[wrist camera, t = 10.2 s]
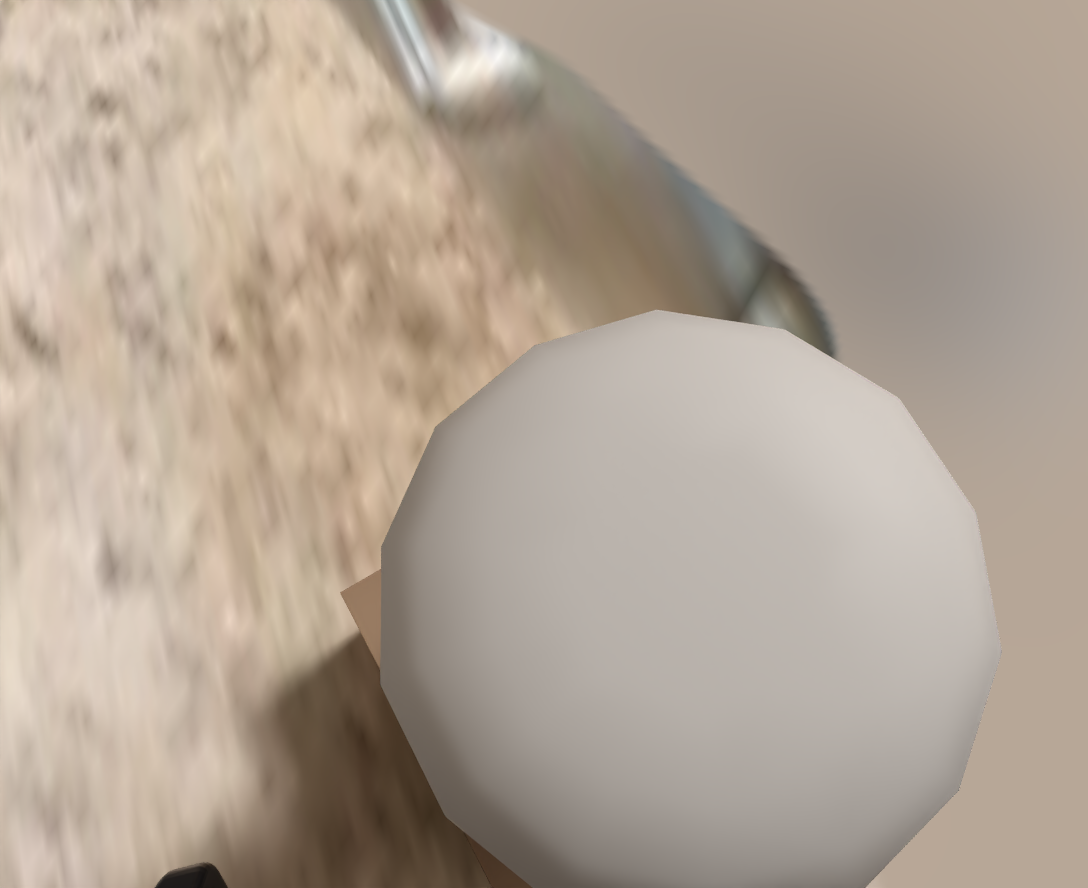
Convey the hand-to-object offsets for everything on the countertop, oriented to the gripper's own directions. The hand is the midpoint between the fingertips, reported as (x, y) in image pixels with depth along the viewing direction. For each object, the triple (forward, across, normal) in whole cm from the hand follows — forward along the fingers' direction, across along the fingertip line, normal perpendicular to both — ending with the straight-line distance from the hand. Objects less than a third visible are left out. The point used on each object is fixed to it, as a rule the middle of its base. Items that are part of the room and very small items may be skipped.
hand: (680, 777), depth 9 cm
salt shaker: (+8, 0, +6) cm, 9 cm away
